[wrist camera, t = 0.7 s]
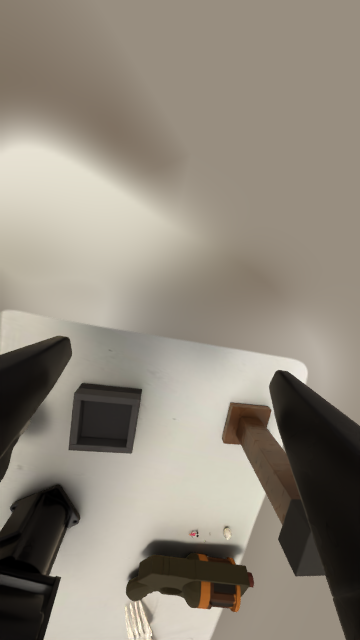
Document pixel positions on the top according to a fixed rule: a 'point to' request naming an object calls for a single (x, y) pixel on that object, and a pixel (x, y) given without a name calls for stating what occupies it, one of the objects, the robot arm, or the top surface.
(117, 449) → the base pad
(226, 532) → the figurine set
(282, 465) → the stand
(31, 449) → the top surface
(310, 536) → the black block
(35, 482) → the top surface
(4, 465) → the light bulb
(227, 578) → the toy gun
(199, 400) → the top surface
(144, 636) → the fork
